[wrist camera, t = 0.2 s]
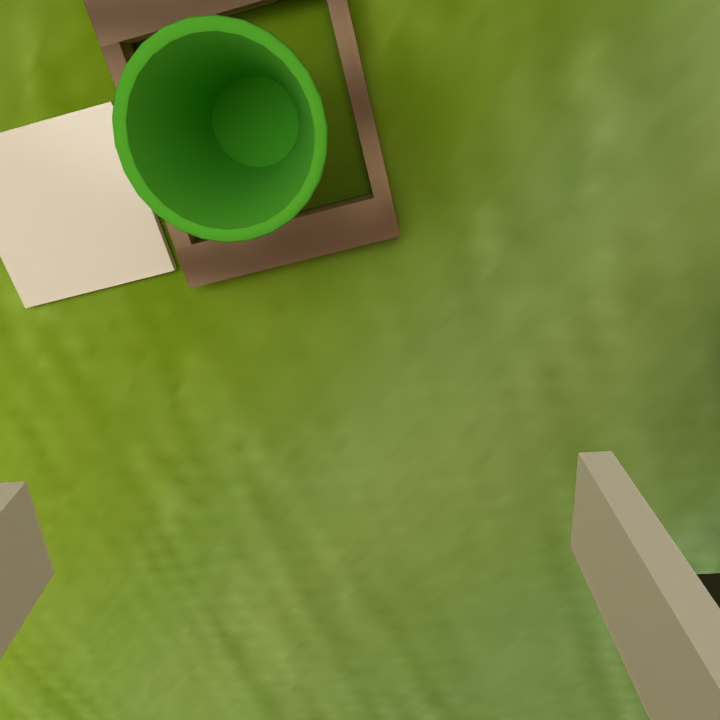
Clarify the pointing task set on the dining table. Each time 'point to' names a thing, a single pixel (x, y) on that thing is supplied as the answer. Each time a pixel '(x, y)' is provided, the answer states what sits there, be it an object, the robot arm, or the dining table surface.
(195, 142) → the cup
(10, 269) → the coaster
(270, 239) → the board
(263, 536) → the dining table surface
